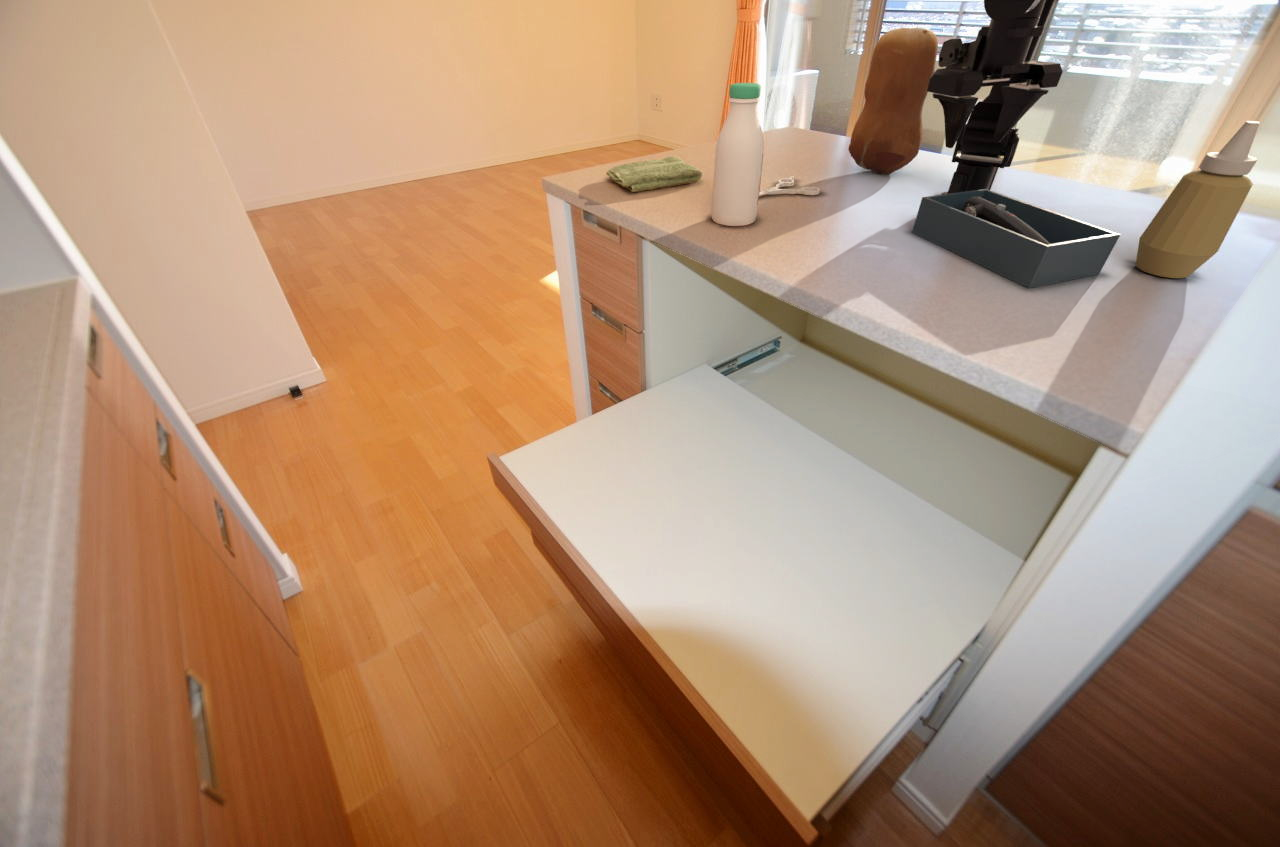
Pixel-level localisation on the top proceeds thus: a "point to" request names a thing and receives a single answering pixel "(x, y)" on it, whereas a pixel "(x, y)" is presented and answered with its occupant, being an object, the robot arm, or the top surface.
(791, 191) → the scissors
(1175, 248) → the squeeze bottle
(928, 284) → the top surface
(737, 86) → the milk bottle
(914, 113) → the butternut squash
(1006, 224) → the can opener
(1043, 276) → the bin
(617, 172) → the washcloth
